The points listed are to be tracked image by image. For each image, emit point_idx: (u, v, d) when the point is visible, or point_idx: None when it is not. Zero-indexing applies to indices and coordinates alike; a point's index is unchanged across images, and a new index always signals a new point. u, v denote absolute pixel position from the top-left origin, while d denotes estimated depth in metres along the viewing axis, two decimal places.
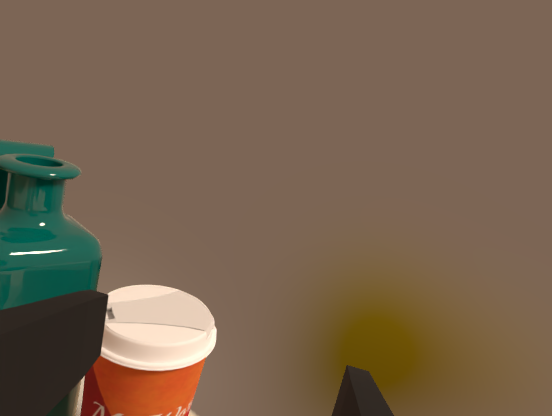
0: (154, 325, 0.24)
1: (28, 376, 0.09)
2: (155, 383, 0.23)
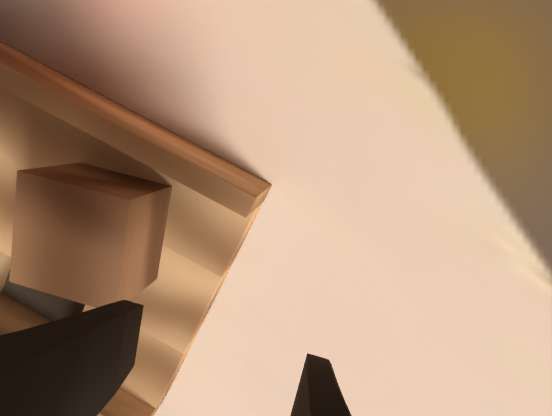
0: None
1: (72, 390, 0.09)
2: None
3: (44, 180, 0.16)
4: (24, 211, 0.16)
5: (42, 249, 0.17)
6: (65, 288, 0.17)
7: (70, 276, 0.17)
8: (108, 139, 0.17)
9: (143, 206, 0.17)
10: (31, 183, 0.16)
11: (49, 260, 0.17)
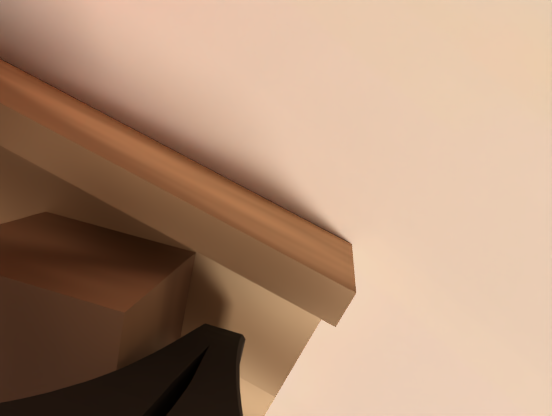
0: None
1: None
2: None
3: None
4: None
5: None
6: None
7: None
8: (87, 183, 0.10)
9: (150, 307, 0.09)
10: None
11: None
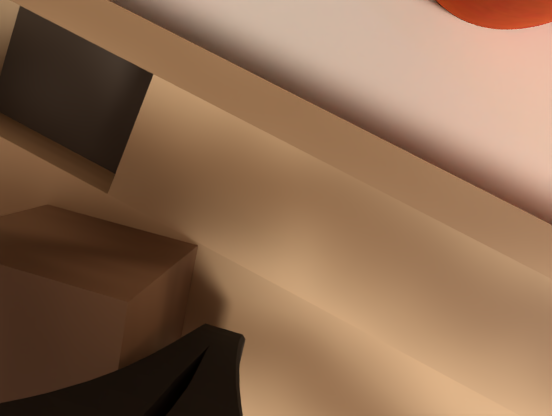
0: None
1: None
2: None
3: None
4: None
5: None
6: None
7: None
8: None
9: (153, 298, 0.09)
10: None
11: None
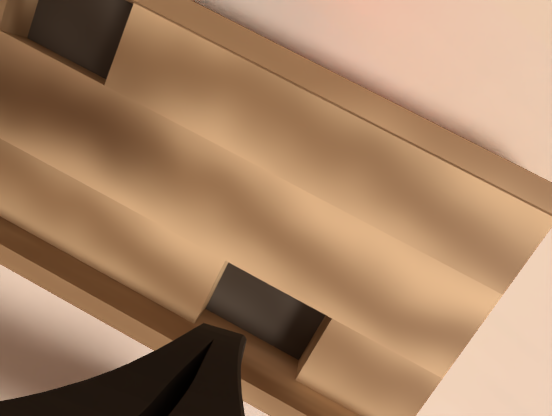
0: None
1: None
2: None
3: None
4: None
5: None
6: None
7: None
8: (421, 141, 0.15)
9: None
10: None
11: None
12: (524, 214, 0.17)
